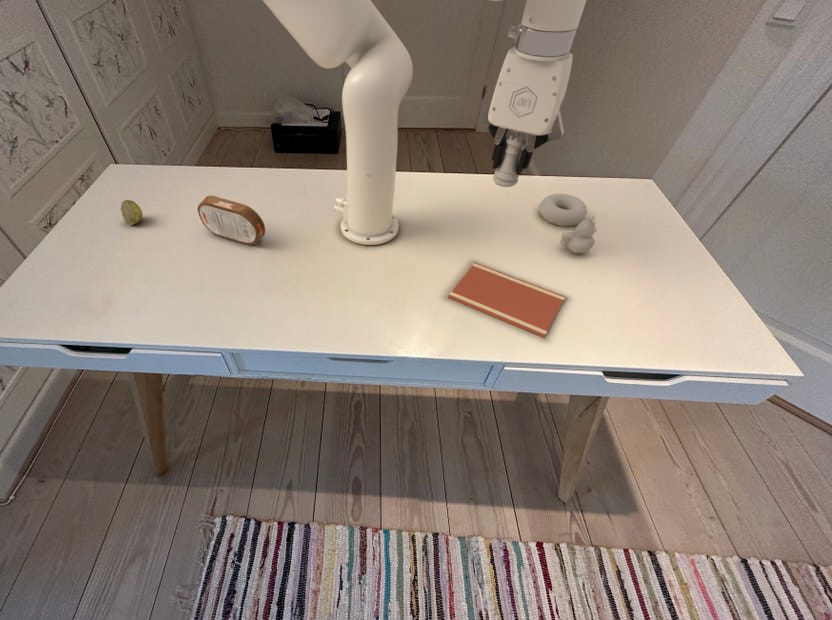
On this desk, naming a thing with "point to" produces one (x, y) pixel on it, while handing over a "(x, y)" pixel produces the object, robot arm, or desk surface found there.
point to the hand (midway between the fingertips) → (508, 167)
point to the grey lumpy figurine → (580, 237)
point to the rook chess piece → (510, 161)
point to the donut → (563, 209)
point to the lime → (131, 212)
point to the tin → (231, 220)
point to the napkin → (508, 299)
